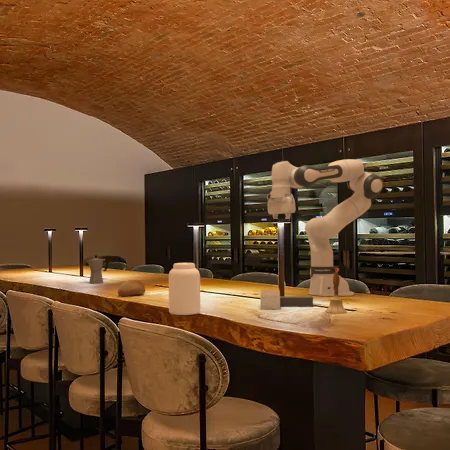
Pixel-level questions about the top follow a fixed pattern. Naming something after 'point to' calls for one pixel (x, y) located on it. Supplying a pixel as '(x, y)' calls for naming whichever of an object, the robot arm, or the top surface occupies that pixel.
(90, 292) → the top surface
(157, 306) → the top surface
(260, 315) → the top surface
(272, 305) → the block
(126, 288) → the bread roll
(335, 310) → the hand bell
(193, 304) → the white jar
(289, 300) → the plug bar
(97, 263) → the coffeepot
